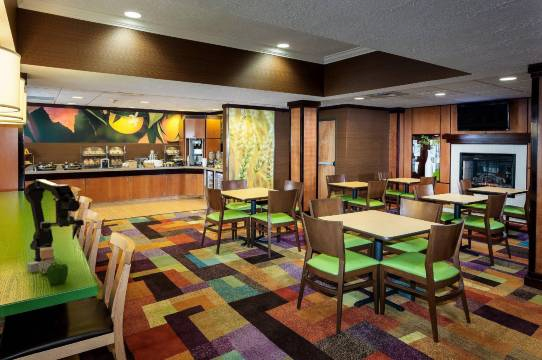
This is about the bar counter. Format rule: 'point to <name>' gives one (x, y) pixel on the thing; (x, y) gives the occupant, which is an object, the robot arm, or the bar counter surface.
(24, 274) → the bar counter surface
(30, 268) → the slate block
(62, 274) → the bell pepper
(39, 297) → the bar counter surface
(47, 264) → the game die
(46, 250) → the terracotta block
